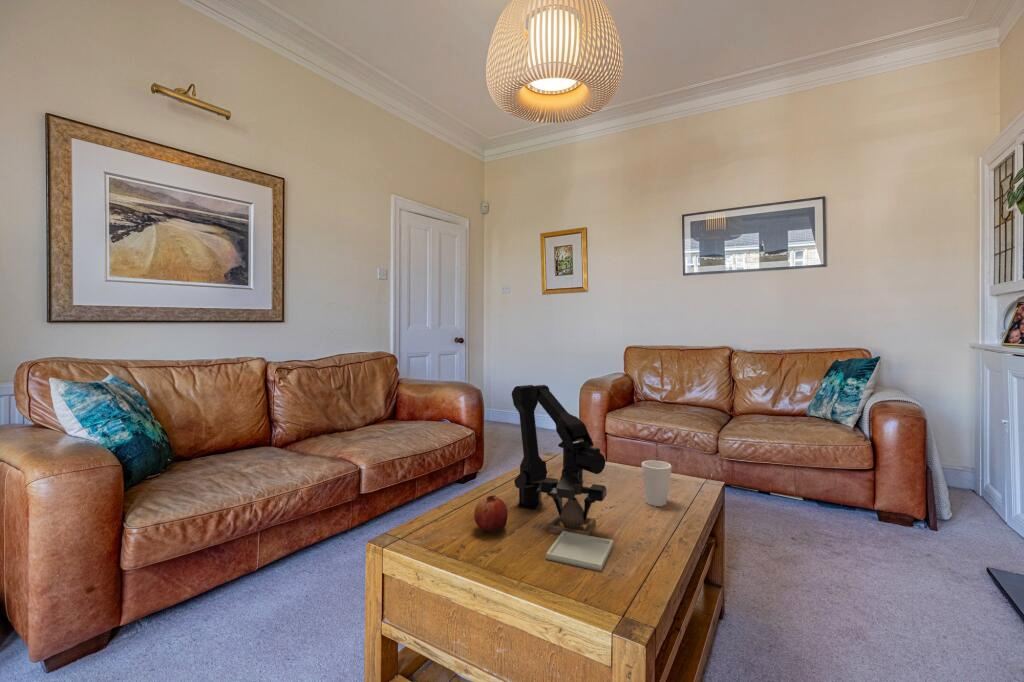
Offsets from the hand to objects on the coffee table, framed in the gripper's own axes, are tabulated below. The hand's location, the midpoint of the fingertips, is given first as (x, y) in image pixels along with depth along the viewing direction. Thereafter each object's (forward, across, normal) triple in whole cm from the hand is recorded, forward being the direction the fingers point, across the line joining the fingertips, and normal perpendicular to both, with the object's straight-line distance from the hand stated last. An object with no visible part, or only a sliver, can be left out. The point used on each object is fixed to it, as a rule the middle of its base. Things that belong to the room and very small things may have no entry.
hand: (572, 517), depth 132 cm
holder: (+3, 0, 0) cm, 3 cm away
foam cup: (+3, +20, +30) cm, 36 cm away
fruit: (+3, -21, -11) cm, 24 cm away
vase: (+3, 0, 0) cm, 3 cm away
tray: (+3, +6, -13) cm, 15 cm away
